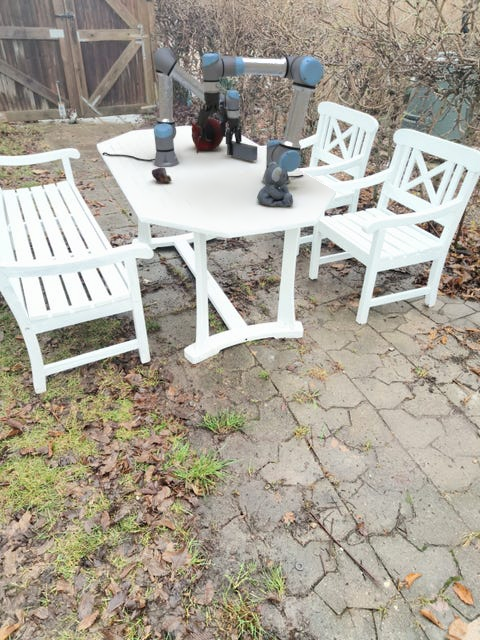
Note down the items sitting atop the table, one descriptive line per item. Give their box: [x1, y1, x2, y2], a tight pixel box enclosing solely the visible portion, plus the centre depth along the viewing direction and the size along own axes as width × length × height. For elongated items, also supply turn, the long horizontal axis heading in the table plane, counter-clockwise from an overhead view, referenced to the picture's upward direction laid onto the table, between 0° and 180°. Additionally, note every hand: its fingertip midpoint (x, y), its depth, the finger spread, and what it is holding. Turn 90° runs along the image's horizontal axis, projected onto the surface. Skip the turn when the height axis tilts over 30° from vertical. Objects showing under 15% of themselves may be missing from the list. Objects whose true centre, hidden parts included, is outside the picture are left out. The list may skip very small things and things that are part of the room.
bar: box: [226, 140, 258, 162], centre depth 298 cm, size 24×5×8 cm, turn 44°
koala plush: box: [256, 162, 294, 208], centre depth 228 cm, size 17×18×20 cm
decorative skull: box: [189, 117, 224, 154], centre depth 320 cm, size 21×24×25 cm
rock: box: [151, 166, 172, 183], centre depth 260 cm, size 12×9×10 cm
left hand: (233, 154), depth 305 cm, fingers closed on bar, 5 cm apart
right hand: (213, 139), depth 224 cm, fingers open, 13 cm apart
